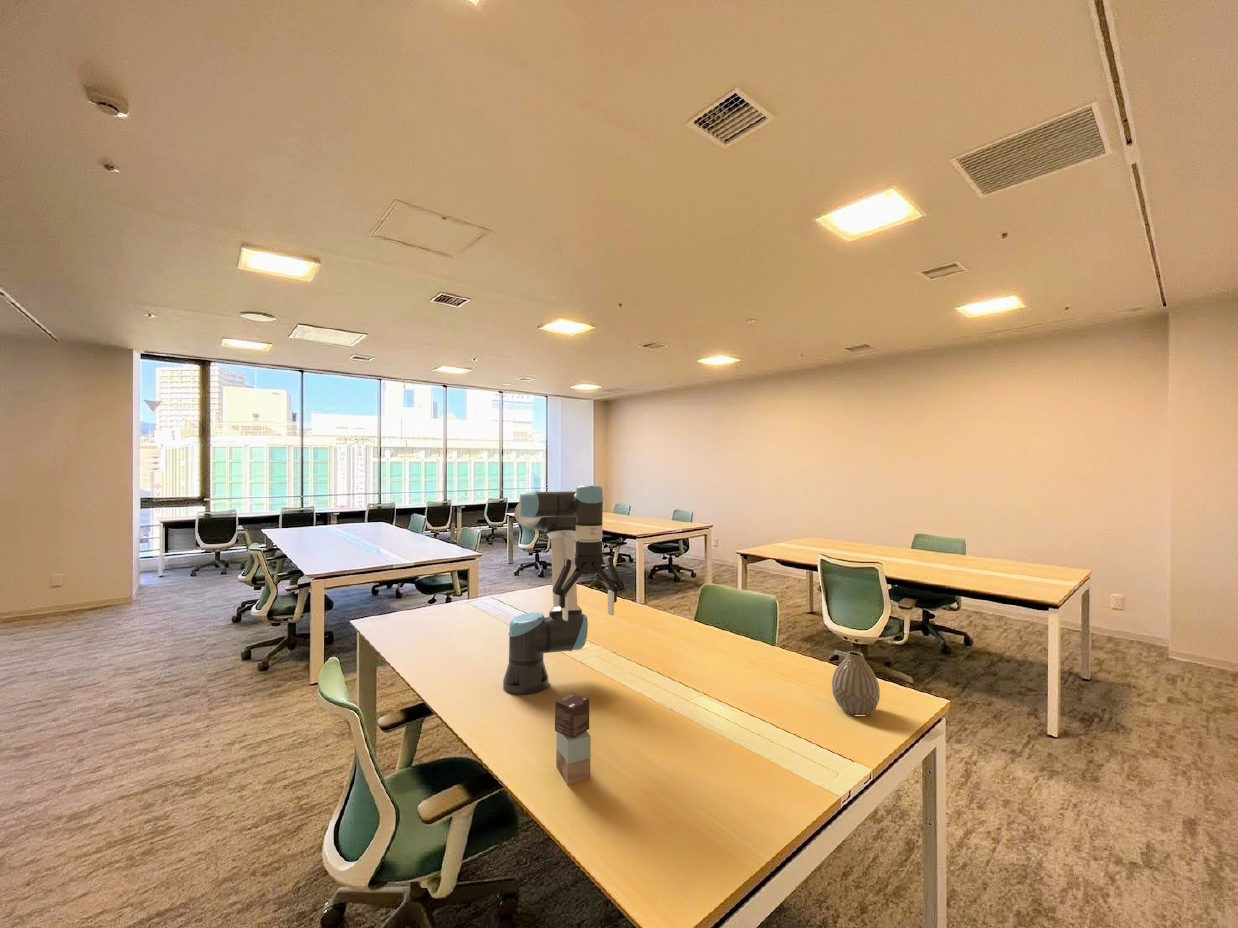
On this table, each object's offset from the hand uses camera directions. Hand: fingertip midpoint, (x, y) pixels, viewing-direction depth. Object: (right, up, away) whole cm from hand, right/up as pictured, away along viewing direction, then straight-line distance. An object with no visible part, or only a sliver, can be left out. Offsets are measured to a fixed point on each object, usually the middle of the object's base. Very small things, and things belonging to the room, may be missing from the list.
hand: (588, 616), depth 138 cm
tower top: (-2, -26, -20) cm, 33 cm away
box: (-3, -21, -19) cm, 29 cm away
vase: (+80, -33, +12) cm, 88 cm away
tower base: (-2, -31, -20) cm, 37 cm away
